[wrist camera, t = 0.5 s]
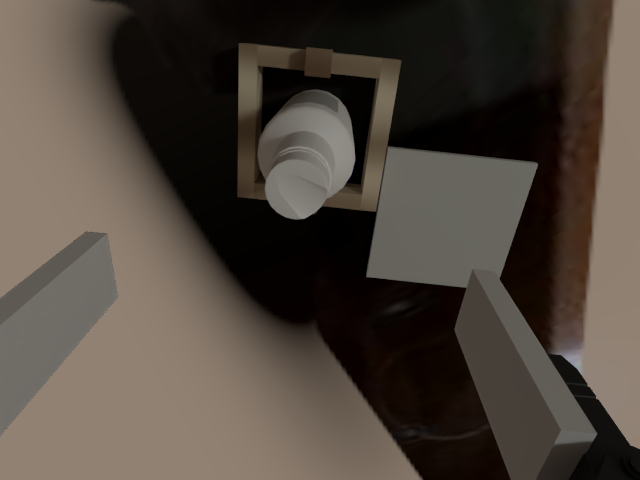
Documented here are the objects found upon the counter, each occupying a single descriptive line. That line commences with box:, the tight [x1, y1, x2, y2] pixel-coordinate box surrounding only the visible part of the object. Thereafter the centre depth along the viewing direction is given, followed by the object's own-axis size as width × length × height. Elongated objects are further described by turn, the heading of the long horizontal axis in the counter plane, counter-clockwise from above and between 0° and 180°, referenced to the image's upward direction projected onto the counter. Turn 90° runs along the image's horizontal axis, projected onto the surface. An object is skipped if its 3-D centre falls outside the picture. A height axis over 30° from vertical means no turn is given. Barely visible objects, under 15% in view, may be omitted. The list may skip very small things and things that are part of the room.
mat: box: [366, 147, 538, 287], centre depth 41 cm, size 14×14×1 cm
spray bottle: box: [257, 89, 355, 219], centre depth 30 cm, size 7×7×18 cm
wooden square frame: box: [238, 43, 401, 214], centre depth 36 cm, size 14×13×4 cm
